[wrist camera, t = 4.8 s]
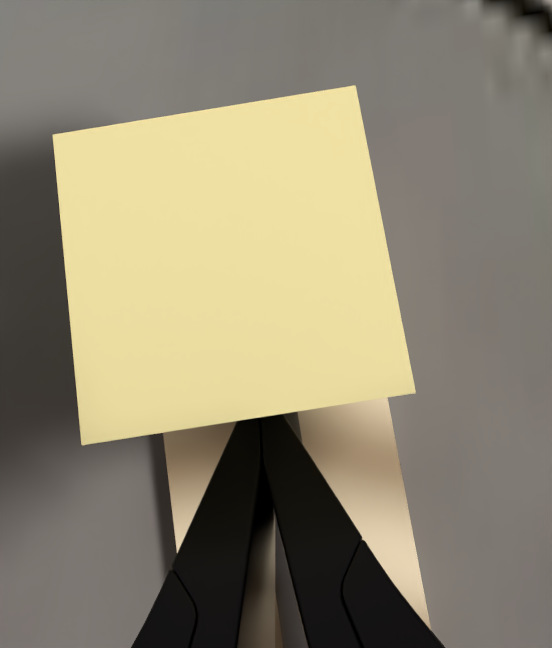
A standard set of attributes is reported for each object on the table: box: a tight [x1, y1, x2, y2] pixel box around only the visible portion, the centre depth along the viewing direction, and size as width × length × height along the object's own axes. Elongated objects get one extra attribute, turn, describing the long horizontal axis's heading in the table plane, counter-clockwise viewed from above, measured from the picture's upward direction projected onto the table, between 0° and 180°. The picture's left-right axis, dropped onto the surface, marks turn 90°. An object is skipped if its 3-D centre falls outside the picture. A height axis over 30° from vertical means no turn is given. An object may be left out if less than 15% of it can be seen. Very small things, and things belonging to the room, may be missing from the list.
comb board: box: [163, 398, 431, 648], centre depth 15 cm, size 22×8×4 cm, turn 9°
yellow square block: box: [53, 86, 416, 445], centre depth 12 cm, size 5×5×10 cm
